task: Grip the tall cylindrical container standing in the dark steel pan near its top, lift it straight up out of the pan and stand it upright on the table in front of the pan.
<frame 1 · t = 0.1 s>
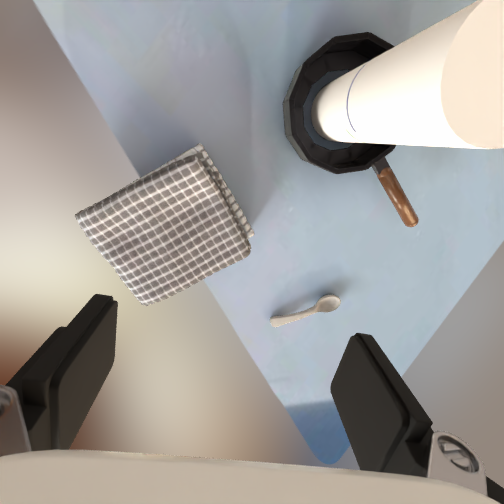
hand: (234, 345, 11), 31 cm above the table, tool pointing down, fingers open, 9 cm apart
towel: (177, 221, 41), on the table
pan: (338, 111, 37), on the table
cylindrical container: (337, 111, 37), resting in pan
spoon: (303, 308, 48), on the table
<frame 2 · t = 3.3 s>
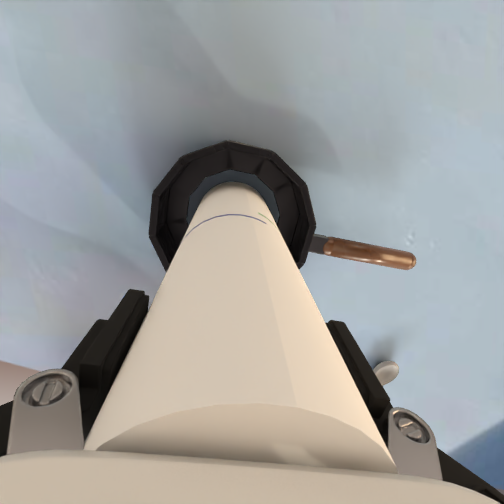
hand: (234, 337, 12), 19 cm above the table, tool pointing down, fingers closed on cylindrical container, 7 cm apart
pan: (233, 217, 29), on the table
cylindrical container: (233, 216, 29), resting in pan, touching gripper
spoon: (363, 386, 39), on the table
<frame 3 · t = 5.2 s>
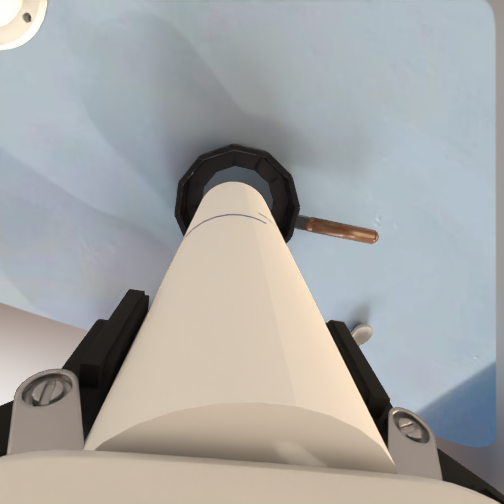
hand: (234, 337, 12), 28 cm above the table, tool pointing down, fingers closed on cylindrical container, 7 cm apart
pan: (237, 203, 38), on the table
cylindrical container: (233, 216, 29), point 9 cm above the table, touching gripper
spoon: (344, 347, 48), on the table
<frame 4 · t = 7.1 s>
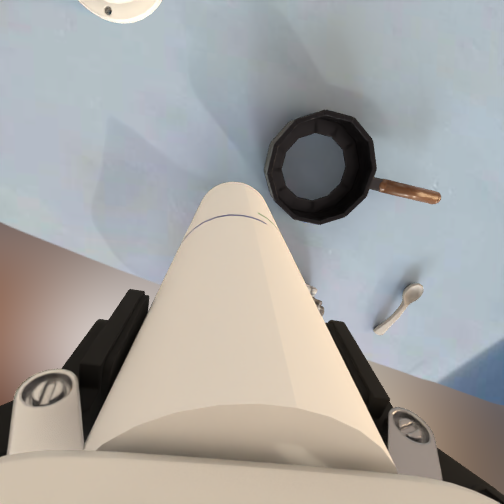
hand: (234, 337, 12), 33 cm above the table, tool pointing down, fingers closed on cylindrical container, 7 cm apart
pan: (313, 168, 42), on the table
cylindrical container: (233, 217, 29), point 14 cm above the table, touching gripper
spoon: (394, 306, 52), on the table
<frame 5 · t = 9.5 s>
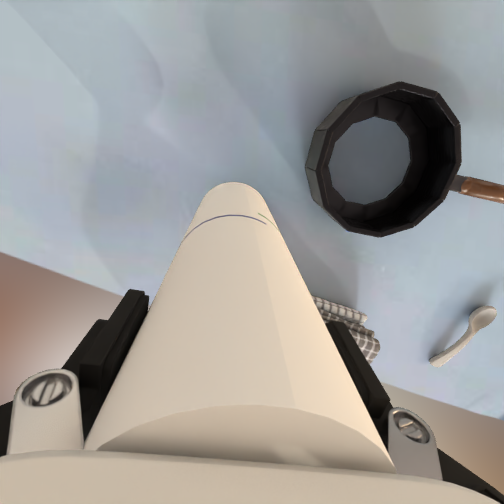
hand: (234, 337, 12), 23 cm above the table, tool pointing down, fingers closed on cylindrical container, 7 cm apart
towel: (291, 343, 41), on the table
pan: (369, 163, 32), on the table
cylindrical container: (233, 217, 29), point 4 cm above the table, touching gripper
spoon: (456, 333, 43), on the table
when the fingers open (19 cm above the table, at t = 11.1 s): cylindrical container stays where it is, on the table.
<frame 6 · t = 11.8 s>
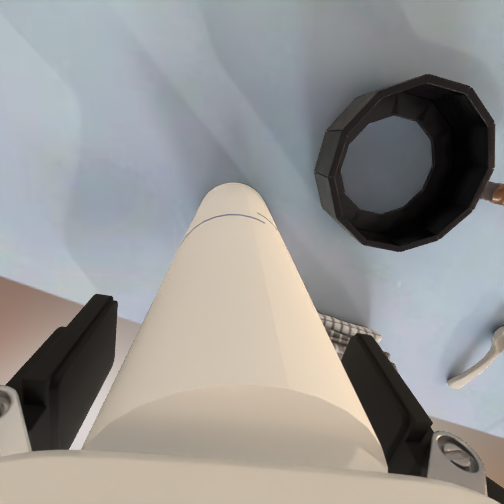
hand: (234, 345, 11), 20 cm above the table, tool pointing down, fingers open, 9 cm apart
towel: (297, 364, 38), on the table
pan: (386, 167, 29), on the table
cylindrical container: (233, 217, 30), on the table
spoon: (477, 352, 39), on the table
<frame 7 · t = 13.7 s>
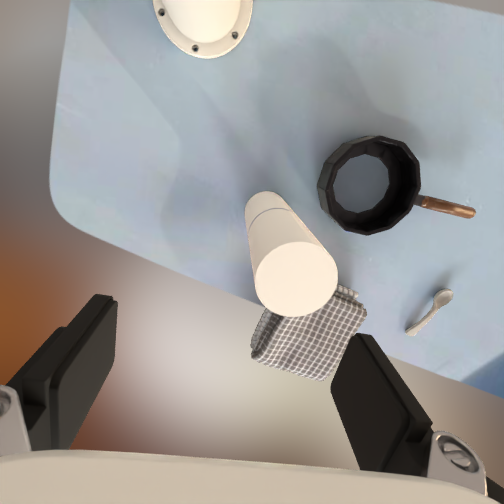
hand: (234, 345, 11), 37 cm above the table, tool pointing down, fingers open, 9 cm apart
towel: (302, 314, 56), on the table
pan: (360, 184, 47), on the table
cylindrical container: (265, 212, 48), on the table
spoon: (425, 310, 57), on the table
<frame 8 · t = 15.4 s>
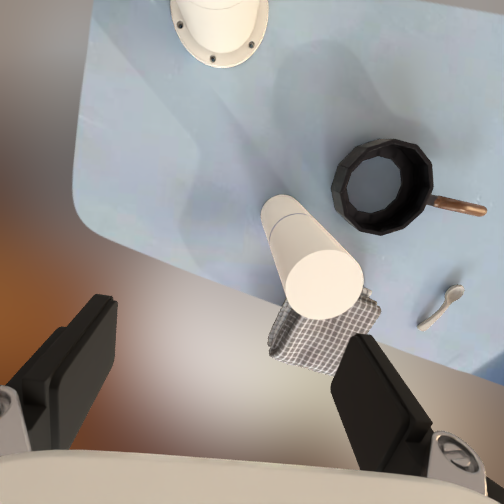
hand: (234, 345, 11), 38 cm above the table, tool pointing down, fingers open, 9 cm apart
towel: (316, 312, 57), on the table
pan: (373, 185, 48), on the table
cylindrical container: (281, 215, 49), on the table
spoon: (436, 305, 58), on the table
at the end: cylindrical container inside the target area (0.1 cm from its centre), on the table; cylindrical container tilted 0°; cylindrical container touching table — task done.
